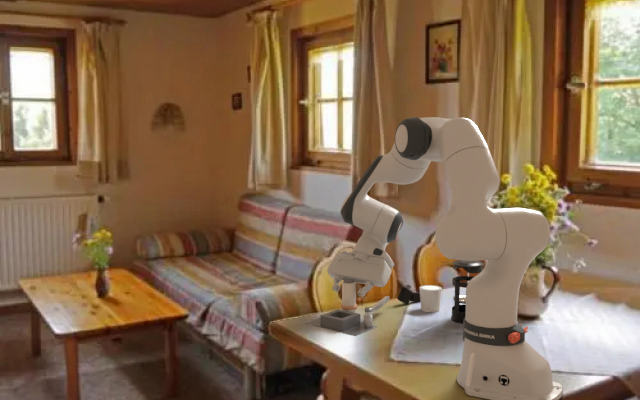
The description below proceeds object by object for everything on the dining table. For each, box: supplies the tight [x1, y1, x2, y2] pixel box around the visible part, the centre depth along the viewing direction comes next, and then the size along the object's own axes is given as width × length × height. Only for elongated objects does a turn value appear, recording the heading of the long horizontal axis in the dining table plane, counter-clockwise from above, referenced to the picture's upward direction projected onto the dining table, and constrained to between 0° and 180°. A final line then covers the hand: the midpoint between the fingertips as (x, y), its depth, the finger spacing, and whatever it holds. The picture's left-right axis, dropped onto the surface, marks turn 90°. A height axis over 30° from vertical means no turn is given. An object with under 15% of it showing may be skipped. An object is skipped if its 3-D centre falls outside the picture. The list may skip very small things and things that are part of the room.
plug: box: [340, 279, 358, 313], centre depth 199 cm, size 5×5×12 cm
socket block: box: [304, 308, 377, 337], centre depth 190 cm, size 18×10×4 cm, turn 50°
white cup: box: [419, 284, 443, 313], centre depth 208 cm, size 7×7×7 cm
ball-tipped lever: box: [364, 295, 391, 316], centre depth 195 cm, size 18×2×2 cm, turn 156°
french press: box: [450, 260, 485, 325], centre depth 196 cm, size 12×9×23 cm
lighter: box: [396, 284, 421, 305], centre depth 215 cm, size 9×2×6 cm
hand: (347, 293), depth 198 cm, fingers open, 8 cm apart
